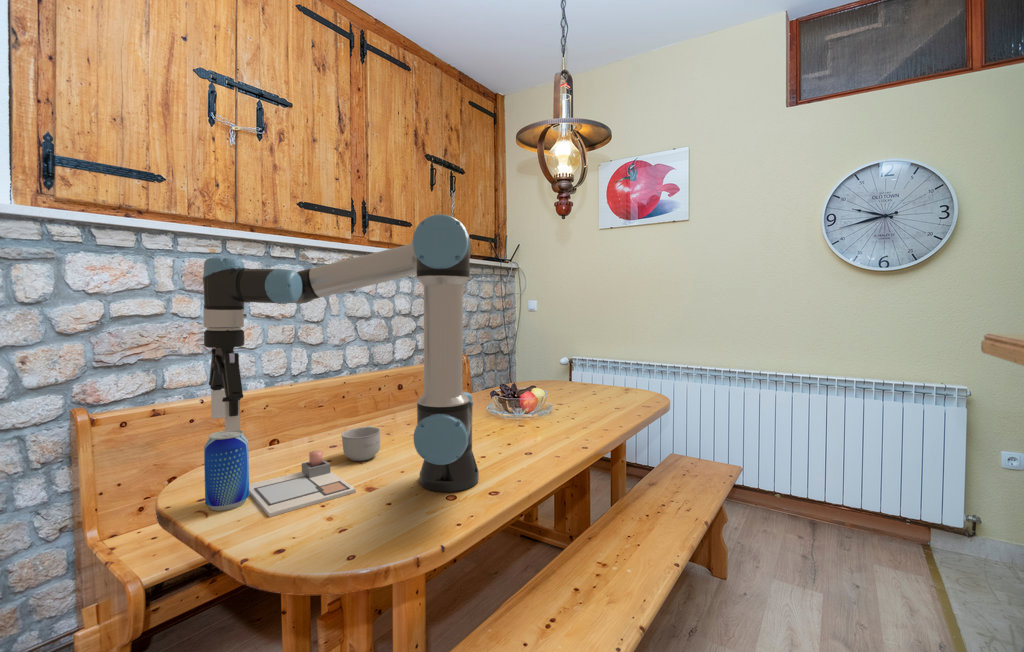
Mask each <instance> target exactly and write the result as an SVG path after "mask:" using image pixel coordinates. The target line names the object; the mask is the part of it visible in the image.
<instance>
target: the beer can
mask: <svg viewBox="0 0 1024 652" xmlns="http://www.w3.org/2000/svg"><path fill="white" fill-rule="evenodd" d="M249 450H250V449H249V440H248V438H247V437H246V436H245V434H244V431H243V430H242V429H240V430H236V431H230V432H225V430H221V431H217V432H212V433H211V434H209V435H208V439H207V441H206V443H204V447H203V457H204V458H203V459H204V462H203V464H204V468H203V469H204V501H205V504H206V506H207V507H208V508H209V509H210V510H211V511H214V510H215V512H217V511H219V512H220V511H221V512H222V511H229V510H232V509H236V508H238V507H241V506H242V505H244V504H245V503H246V501H247V499H248V498H249V496H250V494H249V484H250V457H249V456H250V454H249Z"/></svg>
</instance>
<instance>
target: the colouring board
mask: <svg viewBox="0 0 1024 652" xmlns="http://www.w3.org/2000/svg"><path fill="white" fill-rule="evenodd" d="M356 492H357V489H356V488H355V487H354V486H352V485H351V484H349V482H346V481H345V480H344V479H343V478H341V477H339V476H338V475H337V474H335V473H334V472H333V471H331V463H330V462H328V461H327V460H326V459H324V458H323V463H322V464H321V465H317V466H311V465H309V461H305V462H301V471H299V472H294V473H290V474H286V475H282V476H278V477H273V478H268V479H266V480H265V479H264V480H261V481H256V482H252V483H249V496H250V497H252V498H253V500H255V502H256V503H257V504H258V506H259V507H260V508H261V509H262V510H263V511H264V512H265V514H266V515H267V516H268V518H271V517H275V516H278V515H281V514H285V513H289V512H292V511H295V510H298V509H302V508H303V509H304V508H306V507H310V506H313V505H317V504H319V503H323V502H327V501H330V500H333V499H334V500H335V499H337V498H340V497H341V498H342V497H344V496H347V495H351V494H355V493H356Z"/></svg>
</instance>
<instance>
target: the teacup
mask: <svg viewBox="0 0 1024 652" xmlns="http://www.w3.org/2000/svg"><path fill="white" fill-rule="evenodd" d="M340 436H341V438H342V439H341V441H342V450H343V453H344V456H345V457H346V458H348V459H350V460H351V461H352V462H362V461H367V460H368V461H369V460H371V459H372V458H374V457H375V456H376V455H377V454H378V453H379V451H380V449H381V428H379V427H376V426H372V425H367V426H362V427H354V428H351V429H347V430H345V431H343V432H342V433H341V435H340Z"/></svg>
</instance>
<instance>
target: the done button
mask: <svg viewBox="0 0 1024 652" xmlns="http://www.w3.org/2000/svg"><path fill="white" fill-rule="evenodd" d="M308 459H309V460H308V462H309V465H311V466H317V465H321V464H322V463H323V459H324V457H323V450H320V449H318V450H312V451H309V453H308Z"/></svg>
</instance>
